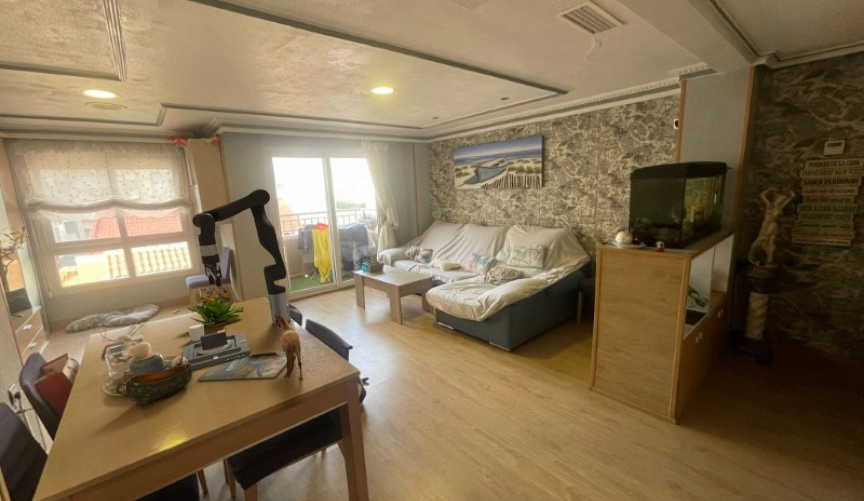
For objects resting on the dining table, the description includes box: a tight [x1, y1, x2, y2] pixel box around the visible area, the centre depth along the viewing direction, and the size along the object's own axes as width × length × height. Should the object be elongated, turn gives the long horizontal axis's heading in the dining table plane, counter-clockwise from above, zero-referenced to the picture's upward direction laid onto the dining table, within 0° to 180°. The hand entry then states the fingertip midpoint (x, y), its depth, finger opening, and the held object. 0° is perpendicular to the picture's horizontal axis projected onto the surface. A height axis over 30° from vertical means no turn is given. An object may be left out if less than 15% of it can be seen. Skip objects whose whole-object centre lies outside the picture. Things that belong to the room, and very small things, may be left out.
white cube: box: [187, 323, 205, 342], centre depth 180 cm, size 7×7×7 cm
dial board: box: [181, 331, 250, 370], centre depth 163 cm, size 26×26×4 cm
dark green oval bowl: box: [115, 364, 193, 406], centre depth 129 cm, size 13×20×10 cm, turn 109°
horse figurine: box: [274, 314, 304, 379], centre depth 140 cm, size 31×8×21 cm, turn 26°
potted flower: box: [186, 292, 245, 328], centre depth 198 cm, size 25×24×18 cm
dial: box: [197, 329, 232, 355], centre depth 162 cm, size 14×14×7 cm
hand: (215, 285), depth 175 cm, fingers open, 8 cm apart
